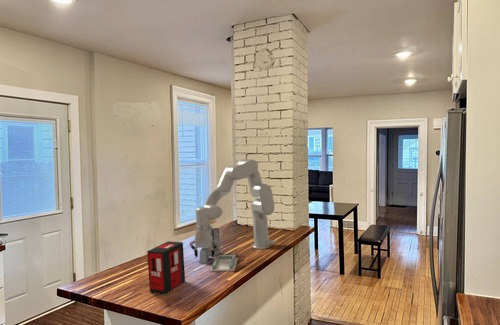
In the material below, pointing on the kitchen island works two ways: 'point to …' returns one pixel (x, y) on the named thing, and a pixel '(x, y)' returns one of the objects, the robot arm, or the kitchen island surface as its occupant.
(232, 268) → the grey tray
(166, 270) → the cleaning product box
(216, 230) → the coffee box
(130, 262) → the kitchen island surface
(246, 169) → the robot arm
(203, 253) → the pale grey cuboid block
